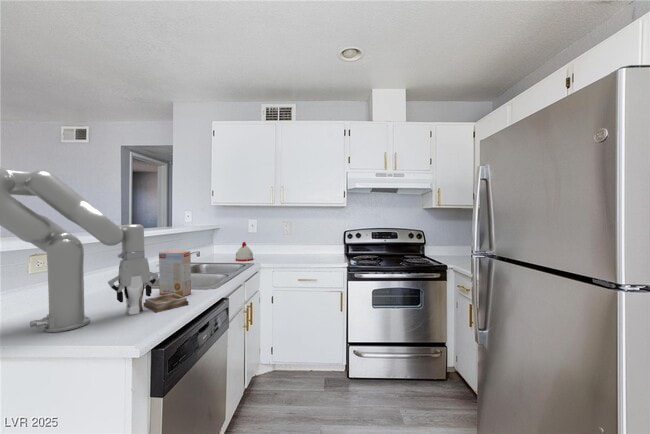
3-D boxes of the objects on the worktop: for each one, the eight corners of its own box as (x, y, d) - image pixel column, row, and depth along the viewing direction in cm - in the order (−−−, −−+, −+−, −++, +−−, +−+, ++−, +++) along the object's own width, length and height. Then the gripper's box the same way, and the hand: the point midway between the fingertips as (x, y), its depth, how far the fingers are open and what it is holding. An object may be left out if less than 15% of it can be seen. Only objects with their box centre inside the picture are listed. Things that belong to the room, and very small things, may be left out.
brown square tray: (155, 312, 120) (155, 305, 120) (143, 306, 129) (143, 299, 128) (188, 304, 130) (188, 297, 130) (174, 299, 138) (174, 292, 138)
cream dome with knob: (233, 261, 243) (232, 242, 242) (239, 258, 256) (239, 241, 256) (250, 261, 241) (249, 242, 241) (255, 258, 255) (255, 241, 255)
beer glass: (121, 316, 116) (120, 277, 116) (127, 310, 123) (126, 273, 122) (141, 314, 118) (141, 276, 117) (146, 309, 124) (146, 272, 124)
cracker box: (191, 293, 147) (191, 250, 147) (182, 297, 142) (181, 252, 141) (168, 291, 152) (168, 249, 151) (158, 294, 146) (158, 251, 145)
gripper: (110, 259, 111) (112, 306, 111) (160, 253, 124) (161, 295, 124) (104, 257, 116) (105, 302, 116) (153, 252, 129) (154, 292, 129)
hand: (134, 298), depth 120 cm, fingers open, 9 cm apart
